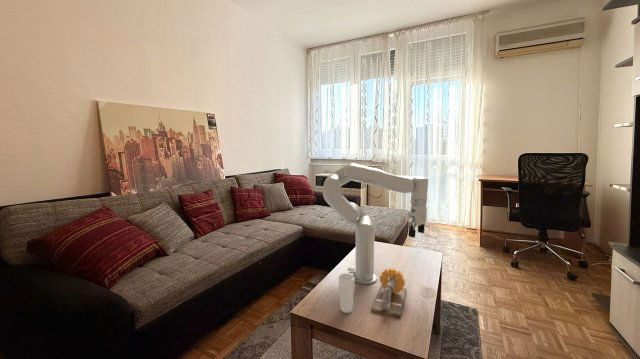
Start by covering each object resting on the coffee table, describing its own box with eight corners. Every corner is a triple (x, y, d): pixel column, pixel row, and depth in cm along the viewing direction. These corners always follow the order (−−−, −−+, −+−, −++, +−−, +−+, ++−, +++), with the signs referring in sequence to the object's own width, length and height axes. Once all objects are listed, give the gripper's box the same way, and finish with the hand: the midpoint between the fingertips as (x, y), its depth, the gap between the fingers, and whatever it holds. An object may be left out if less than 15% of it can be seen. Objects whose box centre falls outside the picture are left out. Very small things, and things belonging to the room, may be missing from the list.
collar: (379, 290, 132) (380, 268, 130) (380, 288, 133) (381, 266, 132) (403, 295, 127) (404, 272, 126) (404, 292, 129) (405, 270, 127)
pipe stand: (371, 311, 118) (371, 291, 117) (381, 286, 138) (381, 269, 137) (400, 318, 114) (400, 297, 112) (406, 291, 134) (407, 273, 132)
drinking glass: (344, 303, 124) (344, 271, 122) (357, 309, 120) (357, 276, 118) (335, 310, 119) (335, 277, 117) (348, 316, 115) (348, 282, 113)
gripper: (417, 205, 129) (415, 240, 132) (433, 200, 142) (431, 232, 144) (403, 202, 135) (401, 236, 137) (419, 198, 147) (417, 229, 149)
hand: (416, 234), depth 140 cm, fingers open, 9 cm apart
